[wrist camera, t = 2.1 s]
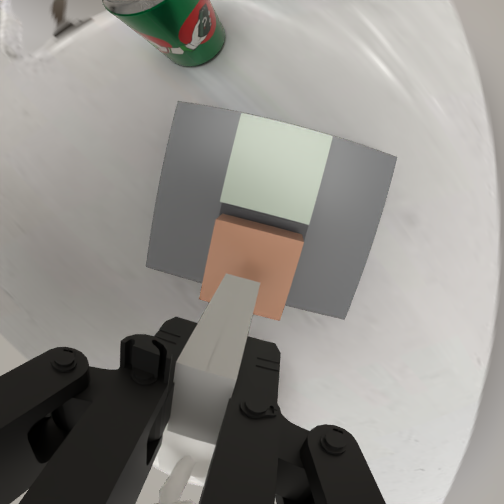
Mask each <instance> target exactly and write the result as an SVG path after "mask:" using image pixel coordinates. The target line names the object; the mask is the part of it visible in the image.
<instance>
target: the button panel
mask: <svg viewBox="0 0 504 504" xmlns="http://www.w3.org/2000/svg"><path fill="white" fill-rule="evenodd" d="M241 113H243V112H238V111H233V110H228V109H223V108H217V107H212V106H206V105H200V104H194V103H187V102H181V101H178V103H177V107H176V110H175V114H174V118H173V123H172V127H171V131H170V135H169V140H168V144H167V148H166V153H165V158H164V162H163V167H162V172H161V177H160V182H159V187H158V193H157V198H156V204H155V210H154V215H153V222H152V228H151V234H150V241H149V248H148V255H147V262H146V267H148V268H152V269H155V270H158V271H162V272H165V273H168V274H172V275H175V276H179V277H182V278H186V279H189V280H193V281H196V282H200V283H202V282H203V277H204V272H205V267H206V263H207V258H208V253H209V248H210V244H211V239H212V234H213V230H214V225H215V221H216V219H217V218H218V217H219V216H220V215H221V214H226V215H230V216H234V217H238V218H242V219H246V220H250V221H254V222H257V223H261V224H265V225H269V226H273V227H276V228H280V229H284V230H288V231H291V232H295V233H299V234H302V236H303V240H304V244H303V247H302V251H301V254H300V258H299V261H298V264H297V268H296V271H295V274H294V277H293V281H292V284H291V287H290V290H289V293H288V297H287V300H286V303H285V305H286V306H290V307H294V308H298V309H302V310H306V311H310V312H314V313H318V314H322V315H327V316H331V317H335V318H339V319H344V320H345V317H346V315H347V312H348V310H349V307H350V305H351V302H352V299H353V297H354V294H355V292H356V289H357V286H358V283H359V281H360V278H361V275H362V272H363V270H364V267H365V264H366V261H367V258H368V255H369V252H370V249H371V246H372V243H373V240H374V237H375V234H376V231H377V228H378V224H379V221H380V218H381V215H382V211H383V208H384V205H385V201H386V198H387V194H388V191H389V187H390V183H391V180H392V176H393V172H394V168H395V164H396V160H397V157H395V156H393V155H390V154H387V153H384V152H382V151H379V150H376V149H373V148H370V147H367V146H364V145H361V144H358V143H355V142H352V141H349V140H346V139H343V138H340V137H336V136H333V135H331V136H333V138H332V142H331V146H330V150H329V154H328V158H327V161H326V165H325V169H324V173H323V177H322V180H321V184H320V188H319V191H318V195H317V199H316V202H315V206H314V209H313V213H312V216H311V220H310V223H309V225H307V224H304V223H300V222H296V221H293V220H289V219H285V218H281V217H278V216H274V215H270V214H266V213H262V212H259V211H255V210H251V209H247V208H243V207H239V206H235V205H231V204H227V203H223V202H220V198H221V194H222V190H223V185H224V181H225V177H226V173H227V168H228V164H229V160H230V156H231V152H232V148H233V144H234V140H235V136H236V132H237V128H238V124H239V120H240V116H241ZM245 114H248V113H245ZM249 115H252V114H249ZM254 116H257V115H254ZM258 117H261V116H258ZM263 118H266V117H263ZM267 119H270V118H267ZM271 120H274V119H271ZM275 121H278V120H275ZM280 122H282V121H280ZM284 123H286V122H284ZM288 124H290V123H288ZM291 125H294V124H291ZM295 126H298V125H295ZM299 127H302V126H299ZM303 128H305V127H303ZM307 129H309V128H307ZM310 130H313V129H310ZM314 131H316V130H314ZM317 132H320V131H317ZM321 133H323V132H321ZM324 134H326V133H324ZM328 135H330V134H328Z"/></svg>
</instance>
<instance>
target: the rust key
mask: <svg viewBox="0 0 504 504" xmlns="http://www.w3.org/2000/svg"><path fill="white" fill-rule="evenodd" d="M303 244H304V240H303V236H302V234H299V233H295V232H291V231H288V230H284V229H280V228H276V227H273V226H269V225H265V224H261V223H257V222H254V221H250V220H246V219H242V218H238V217H234V216H230V215H226V214H221V215H220V216H219V217H218V218H217V219H216V221H215V225H214V230H213V234H212V239H211V244H210V248H209V253H208V258H207V263H206V267H205V272H204V277H203V282H202V287H201V292H200V297H199V299H200V300H203V301H207V302H210V301H211V299H212V297H213V295H214V294H215V292H216V290H217V288H218V287H219V285H220V283H221V281H222V280H223V278H224V276H225V274H226V273H227V274H230V275H234V276H238V277H241V278H245V279H249V280H252V281H256V282H260V287H259V291H258V295H257V299H256V303H255V307H254V312H253V314H255V315H259V316H262V317H266V318H270V319H274V320H278V321H280V319H281V315H282V312H283V309H284V306H285V303H286V300H287V297H288V293H289V290H290V287H291V284H292V281H293V277H294V274H295V271H296V268H297V264H298V261H299V258H300V254H301V251H302V247H303Z"/></svg>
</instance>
